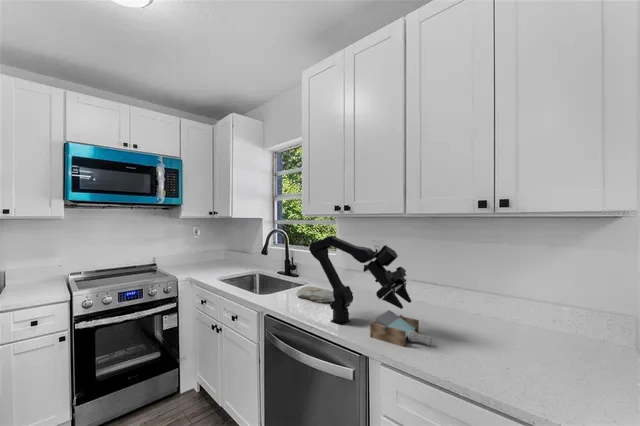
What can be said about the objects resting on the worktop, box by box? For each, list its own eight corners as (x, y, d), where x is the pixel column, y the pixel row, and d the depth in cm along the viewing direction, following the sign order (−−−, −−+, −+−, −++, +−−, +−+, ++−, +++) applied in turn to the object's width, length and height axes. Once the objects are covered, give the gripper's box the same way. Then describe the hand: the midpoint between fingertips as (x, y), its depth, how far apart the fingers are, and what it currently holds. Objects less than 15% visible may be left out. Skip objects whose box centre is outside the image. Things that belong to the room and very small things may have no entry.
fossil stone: (346, 301, 162) (346, 291, 162) (329, 307, 151) (329, 297, 151) (309, 292, 180) (309, 284, 180) (292, 297, 169) (292, 288, 169)
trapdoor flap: (374, 321, 114) (376, 317, 114) (387, 313, 124) (389, 309, 123) (402, 342, 107) (404, 338, 107) (413, 332, 117) (415, 328, 116)
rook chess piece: (410, 339, 112) (431, 345, 108) (407, 342, 109) (429, 350, 104) (411, 327, 112) (433, 334, 108) (408, 330, 109) (430, 337, 104)
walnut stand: (369, 337, 114) (369, 322, 114) (387, 325, 126) (387, 311, 126) (403, 347, 105) (403, 331, 105) (419, 333, 117) (419, 319, 118)
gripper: (383, 264, 108) (413, 298, 102) (401, 258, 123) (428, 287, 117) (365, 282, 113) (392, 316, 106) (384, 274, 128) (409, 303, 121)
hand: (406, 305), depth 113 cm, fingers open, 9 cm apart
